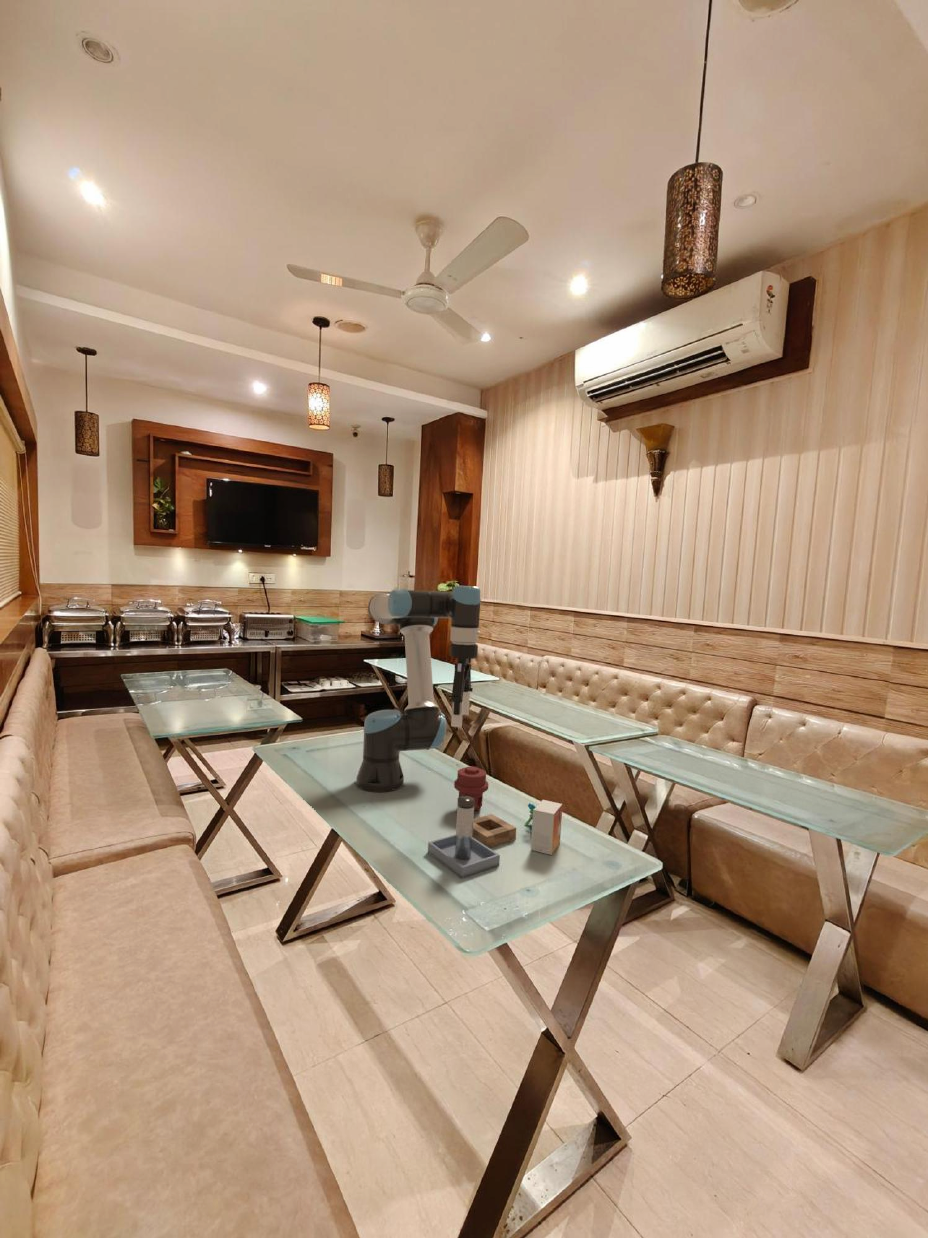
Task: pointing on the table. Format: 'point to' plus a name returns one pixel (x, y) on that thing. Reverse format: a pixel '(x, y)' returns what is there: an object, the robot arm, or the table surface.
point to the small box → (546, 827)
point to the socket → (492, 830)
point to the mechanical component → (472, 784)
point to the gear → (530, 814)
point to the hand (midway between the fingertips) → (460, 720)
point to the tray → (463, 868)
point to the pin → (464, 828)
